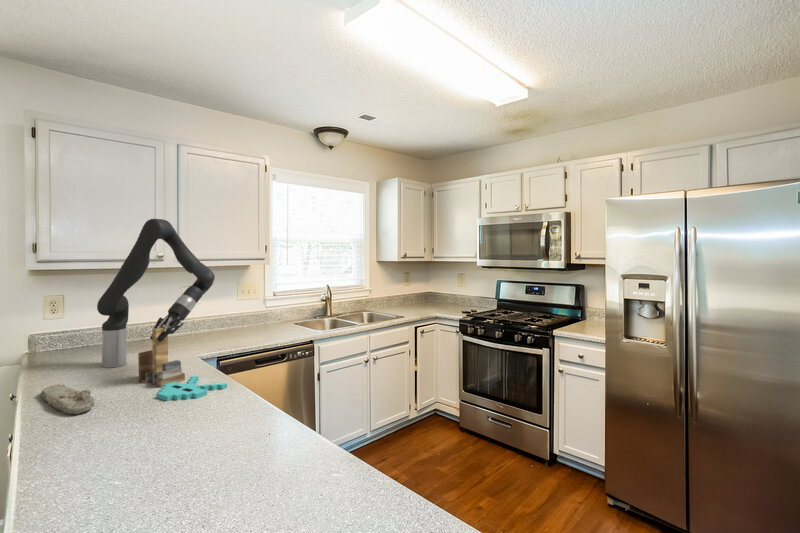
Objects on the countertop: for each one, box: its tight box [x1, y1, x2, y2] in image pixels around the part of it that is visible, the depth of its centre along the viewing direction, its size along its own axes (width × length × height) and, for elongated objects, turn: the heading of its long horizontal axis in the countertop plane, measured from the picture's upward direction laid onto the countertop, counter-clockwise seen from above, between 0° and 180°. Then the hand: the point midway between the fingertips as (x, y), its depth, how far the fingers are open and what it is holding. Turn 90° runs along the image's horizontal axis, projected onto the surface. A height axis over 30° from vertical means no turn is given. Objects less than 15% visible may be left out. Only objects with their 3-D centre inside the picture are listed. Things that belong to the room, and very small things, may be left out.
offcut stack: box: [155, 359, 186, 388], centre depth 162 cm, size 4×10×8 cm, turn 154°
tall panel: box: [151, 326, 169, 374], centre depth 165 cm, size 2×5×22 cm, turn 154°
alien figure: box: [156, 375, 228, 402], centre depth 154 cm, size 20×2×20 cm
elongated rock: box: [40, 384, 95, 415], centre depth 141 cm, size 35×5×10 cm
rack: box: [137, 349, 157, 386], centre depth 166 cm, size 10×10×12 cm
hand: (155, 340), depth 163 cm, fingers open, 3 cm apart
